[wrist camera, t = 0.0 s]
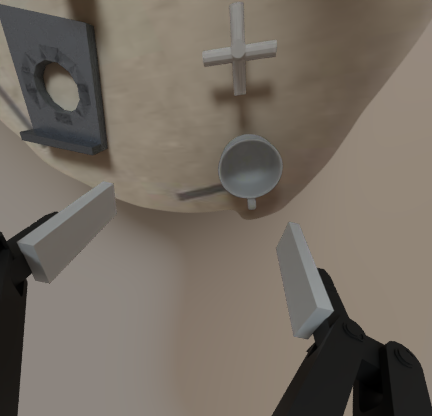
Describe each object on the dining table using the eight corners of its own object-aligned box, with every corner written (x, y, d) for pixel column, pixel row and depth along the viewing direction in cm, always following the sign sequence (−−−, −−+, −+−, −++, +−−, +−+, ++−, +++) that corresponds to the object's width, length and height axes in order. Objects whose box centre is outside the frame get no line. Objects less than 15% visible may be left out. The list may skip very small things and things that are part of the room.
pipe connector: (212, 96, 36) (202, 100, 27) (204, 22, 30) (190, -2, 22) (270, 89, 34) (279, 91, 26) (272, 9, 29) (284, -21, 20)
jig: (8, 7, 32) (-27, -5, 28) (93, 25, 32) (71, 17, 28) (43, 134, 43) (22, 139, 39) (107, 148, 43) (92, 155, 39)
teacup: (223, 127, 38) (219, 136, 31) (281, 131, 37) (290, 141, 31) (220, 192, 46) (216, 211, 39) (268, 196, 45) (272, 216, 38)
